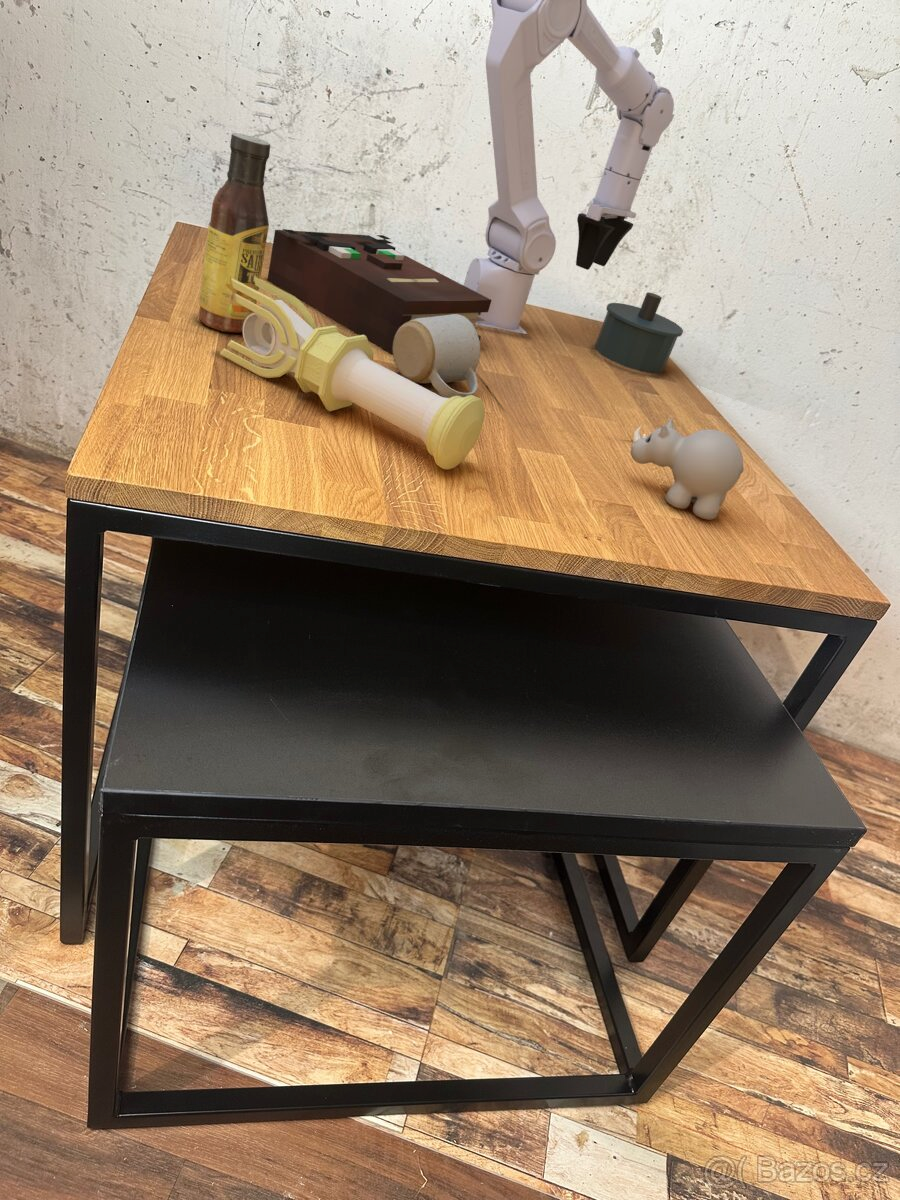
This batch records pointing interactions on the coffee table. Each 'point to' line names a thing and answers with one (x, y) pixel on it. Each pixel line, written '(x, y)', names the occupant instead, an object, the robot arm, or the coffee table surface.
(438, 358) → the ceramic mug
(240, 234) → the sauce bottle
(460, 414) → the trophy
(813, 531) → the coffee table surface
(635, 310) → the lid
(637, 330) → the bowl
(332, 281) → the dark brown wooden box
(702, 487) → the chubby cartoon animal
